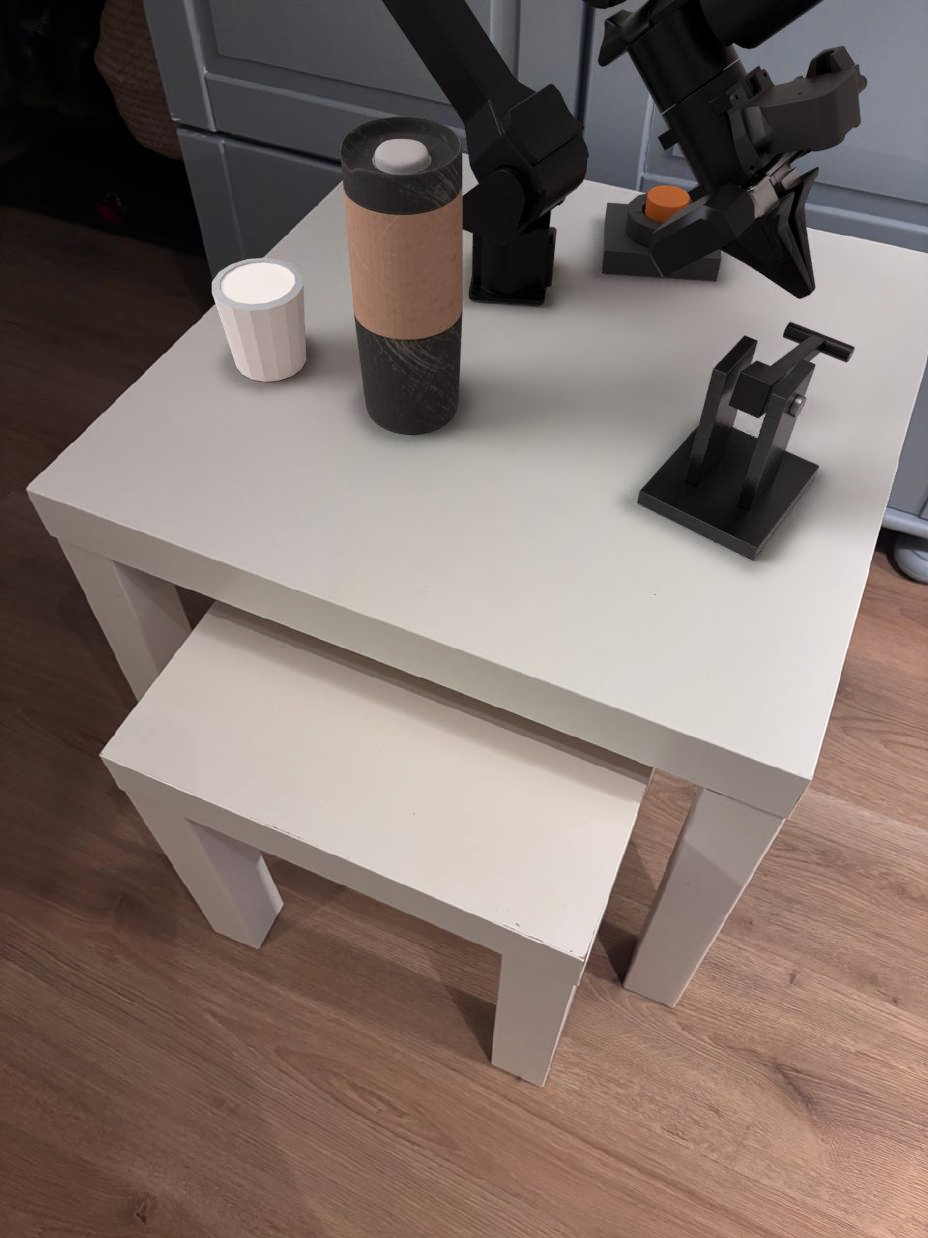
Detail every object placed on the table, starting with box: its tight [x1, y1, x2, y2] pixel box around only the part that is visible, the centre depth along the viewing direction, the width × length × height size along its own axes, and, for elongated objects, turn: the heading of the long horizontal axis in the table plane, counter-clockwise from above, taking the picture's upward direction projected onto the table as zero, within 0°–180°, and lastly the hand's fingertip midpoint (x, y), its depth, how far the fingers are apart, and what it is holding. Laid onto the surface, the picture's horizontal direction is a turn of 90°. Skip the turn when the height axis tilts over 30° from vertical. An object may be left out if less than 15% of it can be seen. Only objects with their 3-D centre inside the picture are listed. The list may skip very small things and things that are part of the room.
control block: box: [601, 192, 723, 282], centre depth 87 cm, size 10×8×4 cm
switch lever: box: [729, 321, 856, 419], centre depth 67 cm, size 14×5×2 cm, turn 144°
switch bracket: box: [636, 334, 820, 561], centre depth 66 cm, size 10×9×11 cm
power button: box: [645, 185, 690, 223], centre depth 85 cm, size 4×4×2 cm
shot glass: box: [211, 257, 307, 383], centre depth 76 cm, size 7×7×7 cm
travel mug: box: [339, 115, 464, 435], centre depth 67 cm, size 8×8×20 cm
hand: (807, 294), depth 69 cm, fingers closed
